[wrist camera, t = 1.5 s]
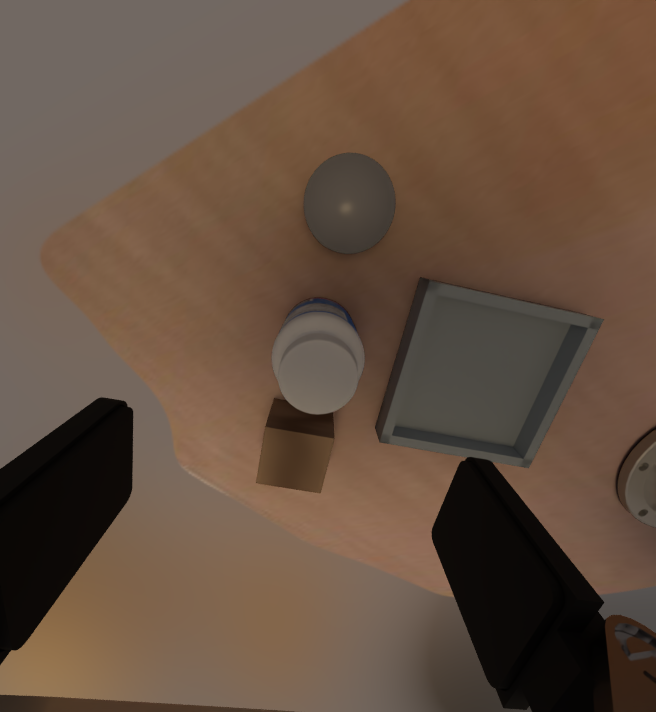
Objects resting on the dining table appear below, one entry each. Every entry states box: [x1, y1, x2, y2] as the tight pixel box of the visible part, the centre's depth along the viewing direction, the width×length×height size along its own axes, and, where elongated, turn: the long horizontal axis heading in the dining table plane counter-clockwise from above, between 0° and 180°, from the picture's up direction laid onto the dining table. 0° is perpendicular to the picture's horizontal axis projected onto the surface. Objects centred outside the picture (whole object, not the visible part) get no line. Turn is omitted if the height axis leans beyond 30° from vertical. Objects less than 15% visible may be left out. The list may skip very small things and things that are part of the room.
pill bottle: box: [272, 298, 365, 414], centre depth 20 cm, size 6×5×10 cm
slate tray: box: [375, 278, 604, 468], centre depth 25 cm, size 13×13×2 cm
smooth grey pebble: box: [304, 153, 395, 254], centre depth 20 cm, size 5×5×5 cm
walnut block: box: [256, 398, 334, 493], centre depth 26 cm, size 5×5×4 cm
